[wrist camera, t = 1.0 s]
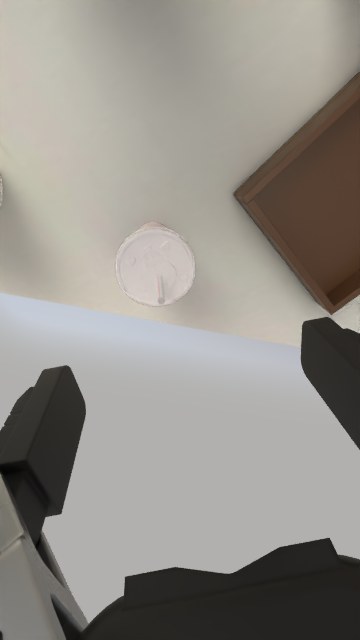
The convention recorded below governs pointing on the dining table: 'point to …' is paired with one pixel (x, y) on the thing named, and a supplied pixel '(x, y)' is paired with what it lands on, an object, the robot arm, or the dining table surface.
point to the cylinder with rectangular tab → (1, 191)
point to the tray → (315, 200)
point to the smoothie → (155, 265)
